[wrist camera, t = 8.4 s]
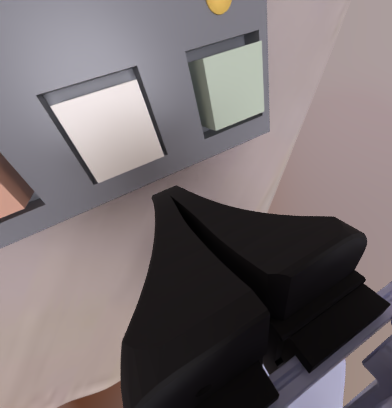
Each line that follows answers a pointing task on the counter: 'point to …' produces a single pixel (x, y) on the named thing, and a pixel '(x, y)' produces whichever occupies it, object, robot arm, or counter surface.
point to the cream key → (110, 129)
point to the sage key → (229, 86)
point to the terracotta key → (12, 189)
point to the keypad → (107, 77)
